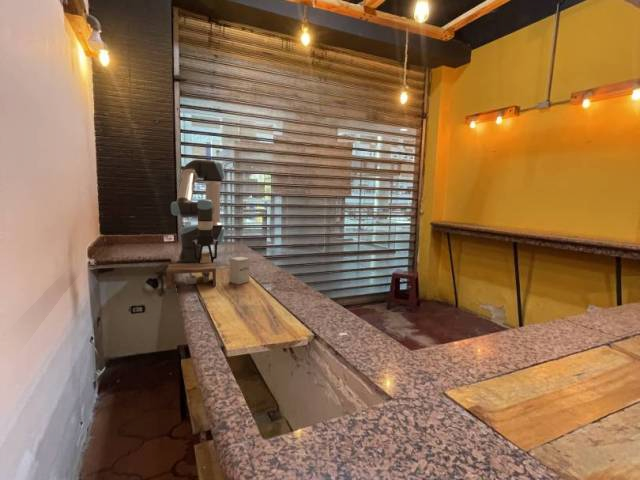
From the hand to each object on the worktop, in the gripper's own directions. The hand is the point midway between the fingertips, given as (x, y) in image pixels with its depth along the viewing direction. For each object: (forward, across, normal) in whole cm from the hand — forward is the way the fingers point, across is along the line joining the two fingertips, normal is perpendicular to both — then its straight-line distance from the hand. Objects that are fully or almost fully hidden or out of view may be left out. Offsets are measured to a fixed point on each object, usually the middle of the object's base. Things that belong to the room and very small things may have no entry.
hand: (205, 271), depth 180 cm
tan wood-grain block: (+2, 0, -7) cm, 7 cm away
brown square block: (+3, -8, -10) cm, 13 cm away
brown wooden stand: (+3, -7, -13) cm, 15 cm away
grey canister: (+3, +16, -14) cm, 22 cm away
